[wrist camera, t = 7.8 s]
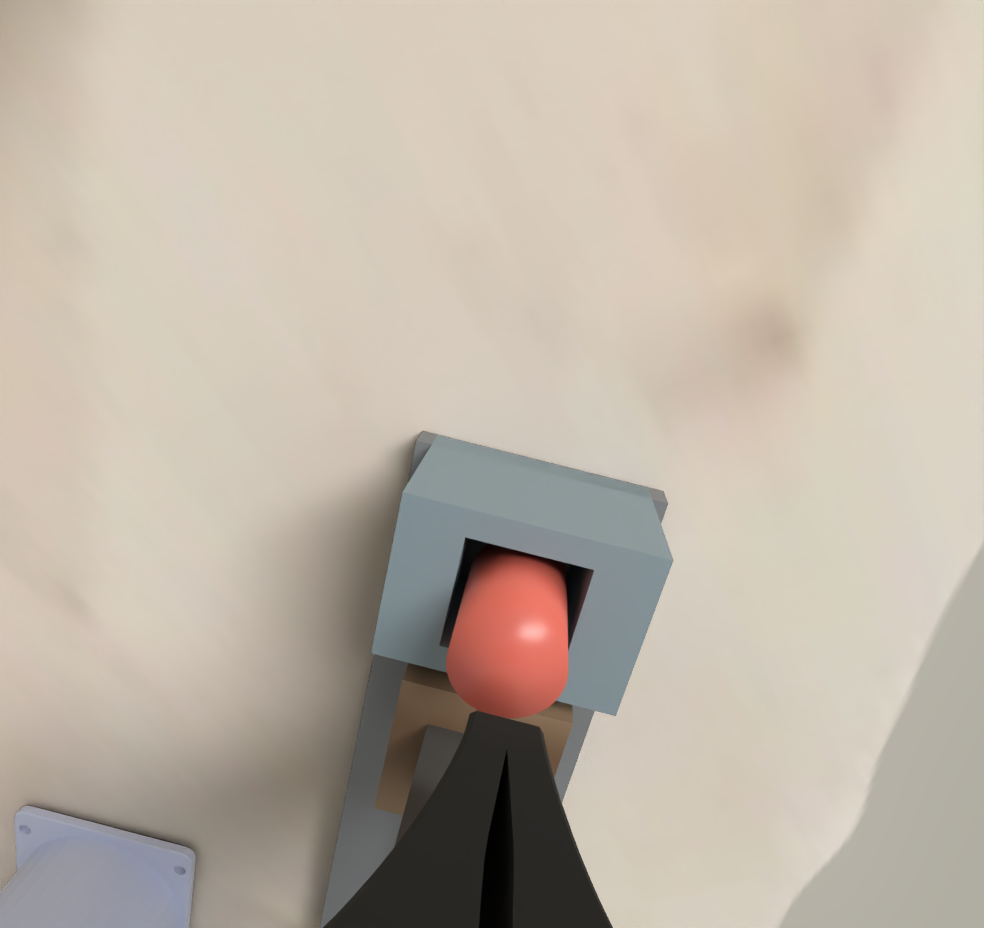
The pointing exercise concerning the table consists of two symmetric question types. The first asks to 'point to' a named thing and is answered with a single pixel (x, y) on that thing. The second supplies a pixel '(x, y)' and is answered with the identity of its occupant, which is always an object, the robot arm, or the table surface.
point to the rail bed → (441, 583)
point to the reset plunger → (511, 634)
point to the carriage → (441, 740)
